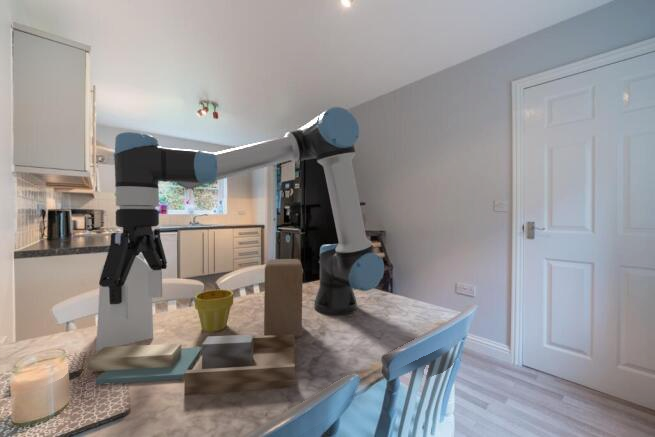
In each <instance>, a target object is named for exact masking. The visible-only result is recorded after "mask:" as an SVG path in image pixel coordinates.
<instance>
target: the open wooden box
mask: <svg viewBox="0 0 655 437" xmlns="http://www.w3.org/2000/svg"><path fill="white" fill-rule="evenodd" d="M201 347H202V352H201V359H200V361H199V363H198V364H197V366H196V368H195V369H190V370H186V372H185V375H184V379H183V380H184V383H183V386H184V390H183V391H184V392H183V393H184V394H183V395H184V396H188V395H189V396H190V395H202V394H203V395H204V394H205V395H206V394H217V393H218V394H219V393H231V392H232V393H233V392H234V393H235V392H243V391H258V390H259V391H260V390H274V389H275V390H277V389H287V388H295V387H296V386H295V385H296V383H295V382H296V379H295V378H296V364H295V338H294V334H290V335H268V336H264V335H254V334H238V335H237V334H235V335H234V334H233V335H212V336H209V335H208V336H207V337H206V338H205V339H204V341H203V342H202V344H201Z"/></svg>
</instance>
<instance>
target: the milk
mask: <svg viewBox="0 0 655 437" xmlns="http://www.w3.org/2000/svg"><path fill="white" fill-rule="evenodd" d="M103 268H104V264H103V265H102V267H101V269H100V274H99V275H100V276H99V279H100V278H101V274H102V271H103ZM149 270H152V269H151V268H150V267H149V265H148V263H147V261H146V259H145V258H144V256H143V254H142V252H140V254H139V255H137V256H136V257H135V259H134V262H133V264H132V266H131V269H130V271H129V274H128V276H127V278H126V281H125V283H124V285H128V319H126V320H113V321H110V302H109V297H110V296H109V287H102V286H100V285H99V292H98V293H99V295H98V308H97V309H98V312H97V327H96V328H97V330H96V343H95V344H96V346H95V348H96V349H95V351H96V352H98V351H99V350H101V349H102V348H104V347H117V346H126V345H129V344H133V343H139V342H141V341H148V340H150V339H154V319H153V316H154V314H153V298H149V292H148V271H149ZM108 278H109V277H108ZM119 279H120V278H119Z"/></svg>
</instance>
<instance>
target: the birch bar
mask: <svg viewBox="0 0 655 437" xmlns="http://www.w3.org/2000/svg"><path fill="white" fill-rule="evenodd" d="M181 348H182V343H166V344H165V343H162V344H141V345H121V346H116V347H104V348H102V349H101V350H98V351H96V352H95V353H94V354H92V355H91V356H90V357H88V358H87V359H86V372H87V373H88V372H101V371H103V372H105V371H106V370H123V369H140V368H158V367H172V366H173V364H174V363H175V362H176V360H177V359H178V358H179V357H180V355H181Z"/></svg>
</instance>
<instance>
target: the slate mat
mask: <svg viewBox="0 0 655 437" xmlns="http://www.w3.org/2000/svg"><path fill="white" fill-rule="evenodd" d="M200 355H202V346H201V347H198V346H197V347H181V355H180V357H179V358H178V359H177V360H176V362H175V363H174V364H173V366H172V367H158V368H140V369H123V370H105V371H103V373H102V374H100V375H99V376H97V377H96V378H95V385H94V386H96V384H100V385H106V384H105V383H115V384H127V383H128V384H129V383H143V382H144V383H146V382H157V381H158V382H160V381H172V380H174V381H176V380H184V375H185V372H186V370H192V368H193V366H194V364H195V362H197V360H198V358H199V357H200Z"/></svg>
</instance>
